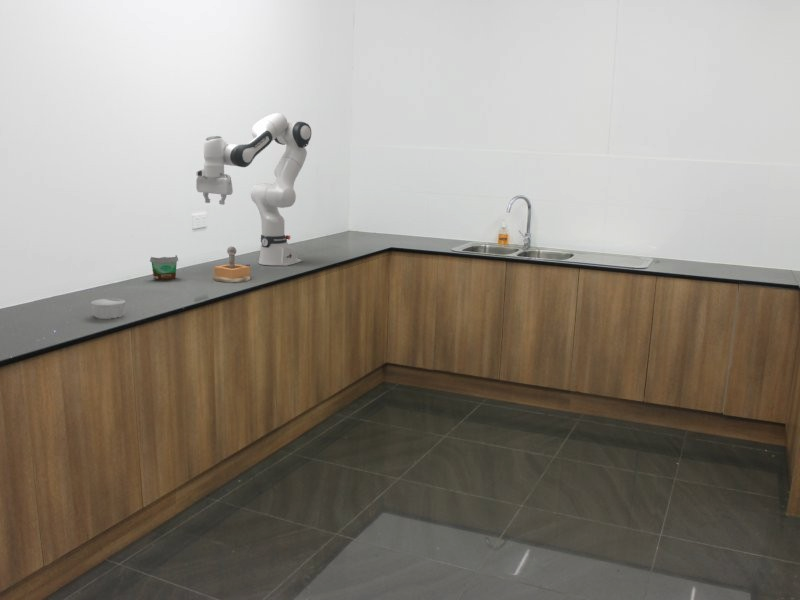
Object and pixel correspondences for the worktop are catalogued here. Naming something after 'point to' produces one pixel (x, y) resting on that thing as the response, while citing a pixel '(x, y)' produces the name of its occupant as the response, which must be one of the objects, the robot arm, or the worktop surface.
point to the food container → (164, 268)
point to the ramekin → (108, 308)
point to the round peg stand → (232, 252)
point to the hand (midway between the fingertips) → (214, 203)
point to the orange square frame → (232, 271)
